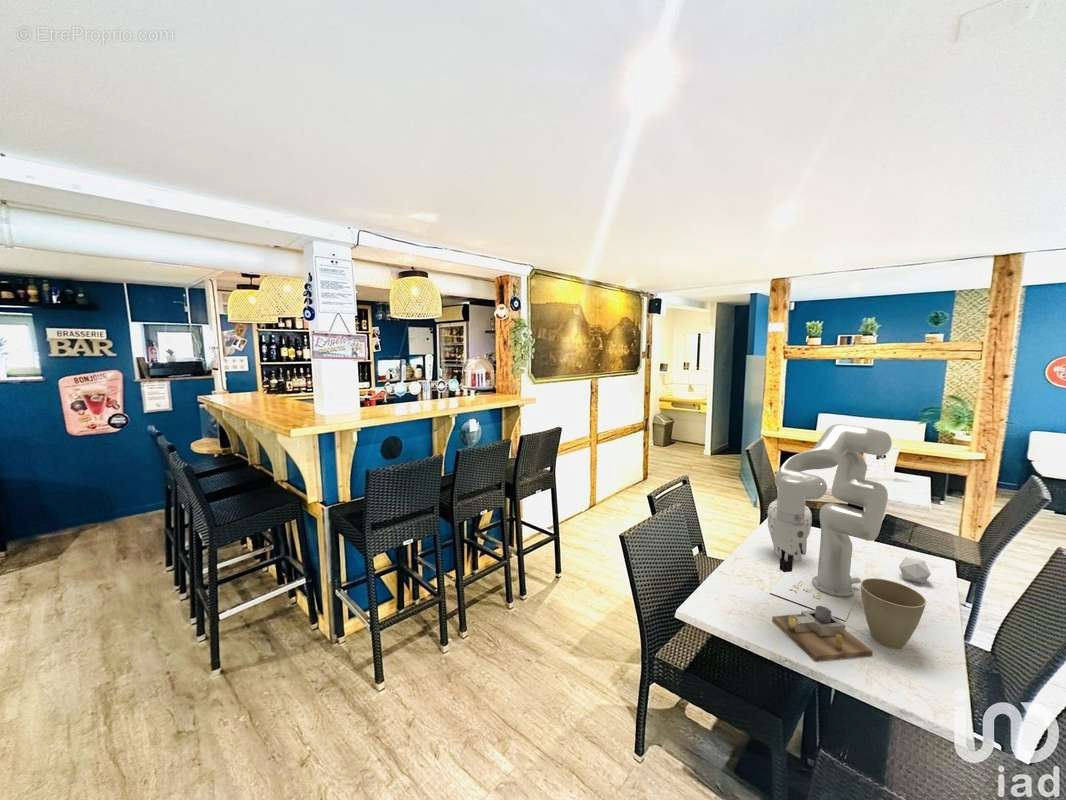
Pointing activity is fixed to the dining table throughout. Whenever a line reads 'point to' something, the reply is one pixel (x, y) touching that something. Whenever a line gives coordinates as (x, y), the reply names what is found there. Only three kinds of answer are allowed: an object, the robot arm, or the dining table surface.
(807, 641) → the board
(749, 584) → the dining table surface
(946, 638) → the dining table surface
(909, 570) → the die
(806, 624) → the square frame with handle
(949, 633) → the dining table surface
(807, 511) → the vase
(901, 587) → the plant pot
